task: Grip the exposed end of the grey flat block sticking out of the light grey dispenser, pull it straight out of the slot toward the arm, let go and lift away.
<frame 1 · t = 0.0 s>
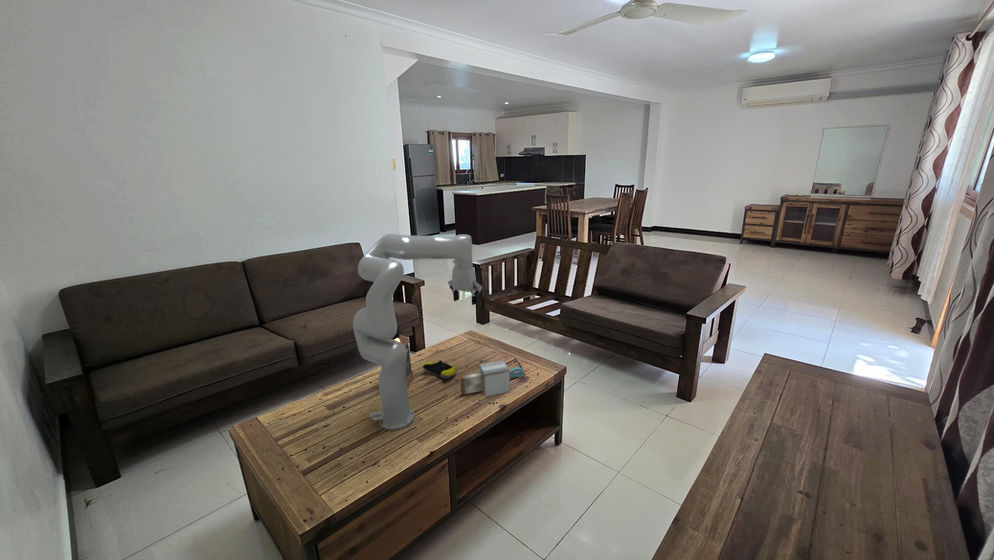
hand: (465, 302, 174), 31 cm above the table, tool pointing down, fingers open, 9 cm apart
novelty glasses: (505, 372, 178), on the table
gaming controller: (440, 375, 176), on the table
dispenser: (494, 388, 165), on the table
whiskey bottle: (399, 383, 170), on the table
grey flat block: (482, 381, 162), point 5 cm above the table, slide at 0.0 cm
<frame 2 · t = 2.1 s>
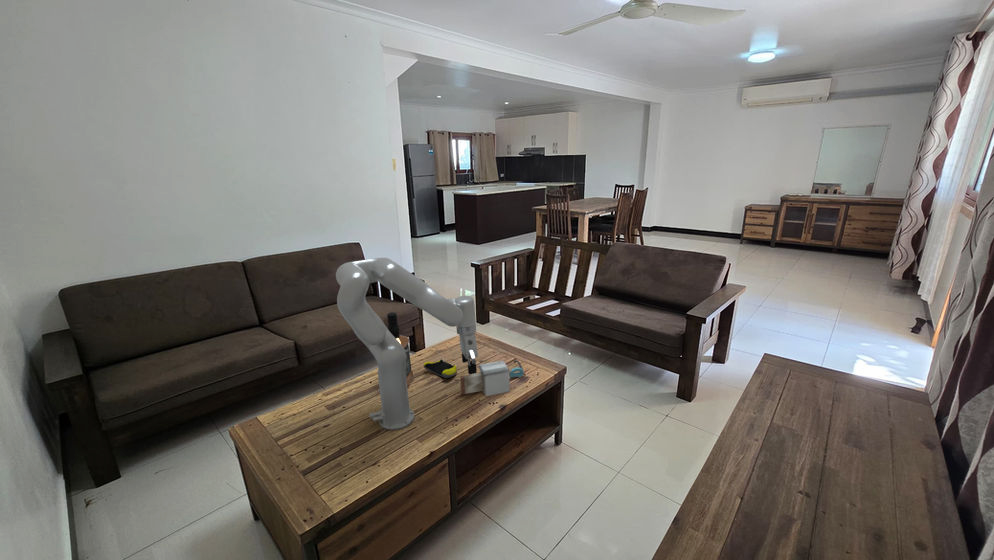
hand: (469, 367, 158), 12 cm above the table, tool pointing down, fingers open, 9 cm apart
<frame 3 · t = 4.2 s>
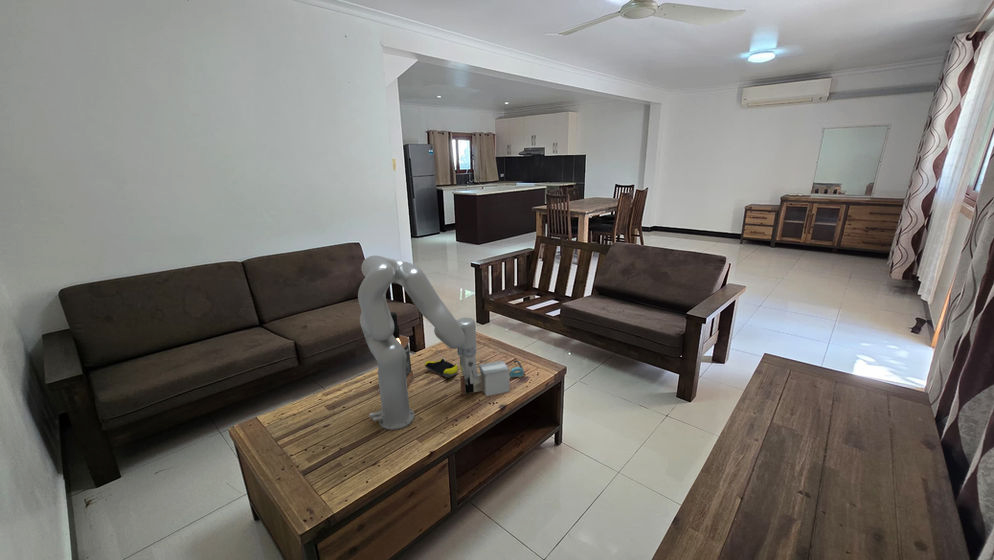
hand: (468, 390, 161), 2 cm above the table, tool pointing down, fingers closed on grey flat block, 2 cm apart
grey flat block: (482, 381, 162), point 4 cm above the table, slide at 0.0 cm, touching gripper
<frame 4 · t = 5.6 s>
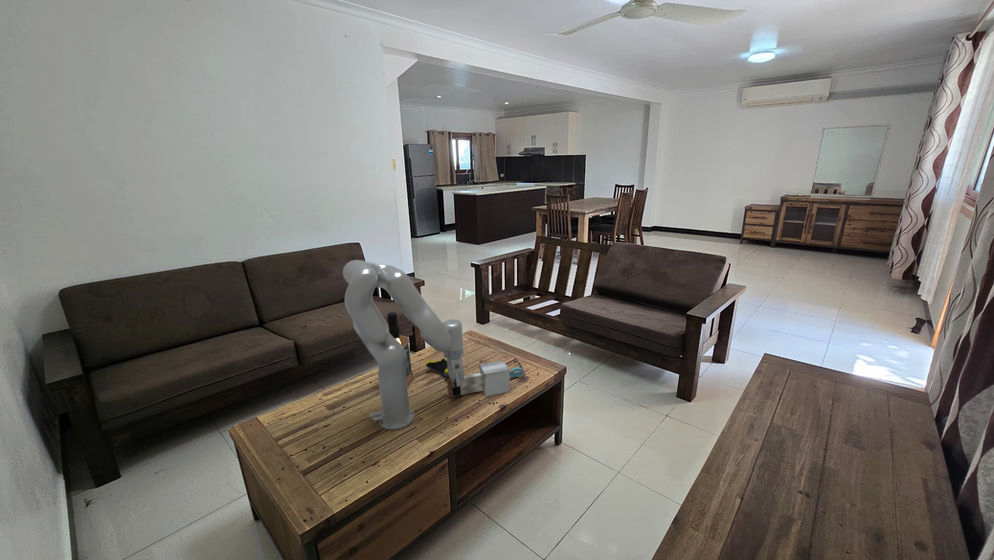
hand: (456, 392, 159), 2 cm above the table, tool pointing down, fingers closed on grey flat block, 2 cm apart
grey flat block: (469, 383, 160), point 4 cm above the table, slide at 5.3 cm, touching gripper
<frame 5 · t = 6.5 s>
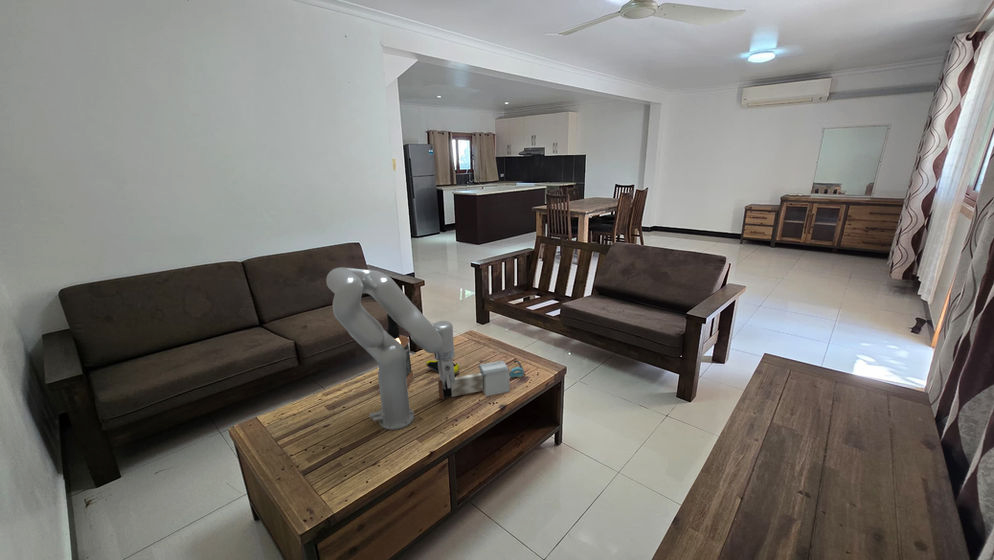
hand: (446, 394, 158), 2 cm above the table, tool pointing down, fingers closed on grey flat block, 2 cm apart
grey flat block: (460, 385, 159), point 5 cm above the table, slide at 8.9 cm, touching gripper
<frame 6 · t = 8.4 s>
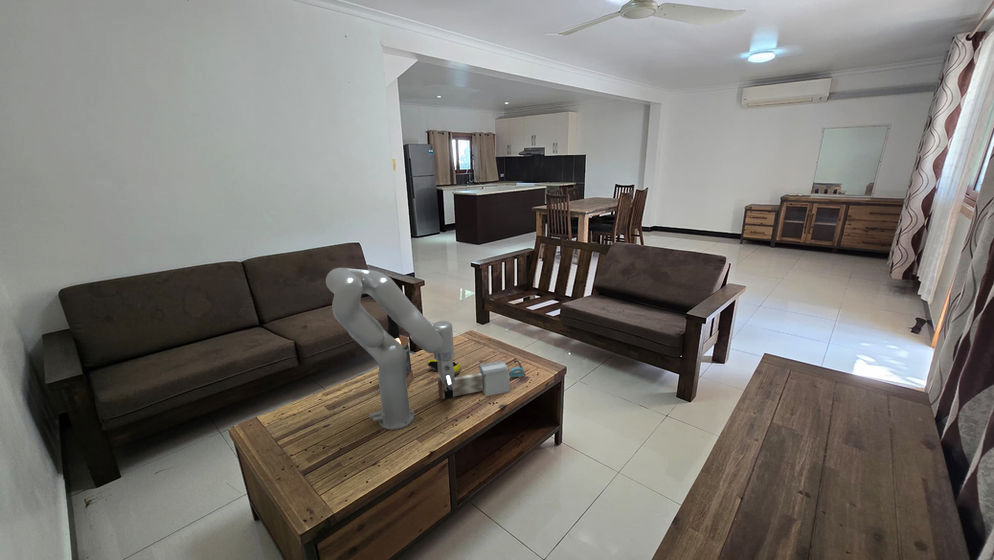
hand: (446, 392, 158), 3 cm above the table, tool pointing down, fingers open, 9 cm apart
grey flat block: (460, 385, 159), point 5 cm above the table, slide at 9.0 cm
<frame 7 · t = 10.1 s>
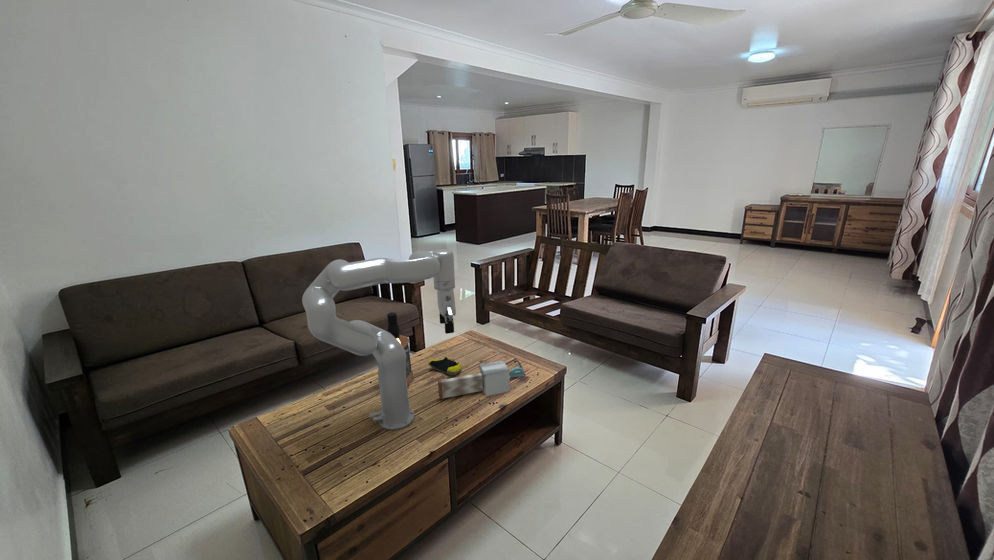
hand: (446, 327, 148), 31 cm above the table, tool pointing down, fingers open, 9 cm apart
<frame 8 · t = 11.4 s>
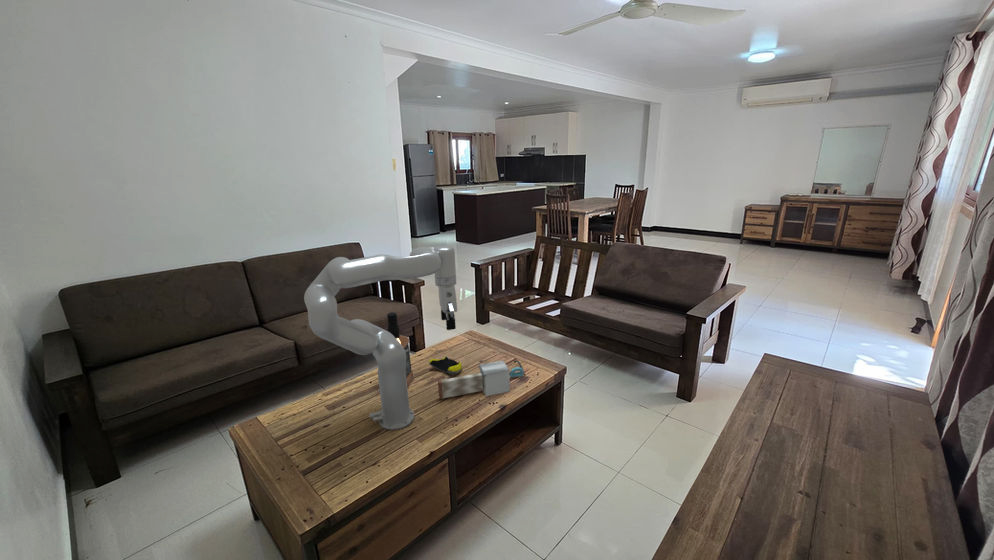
hand: (448, 324, 148), 32 cm above the table, tool pointing down, fingers open, 9 cm apart
at the end: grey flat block slide at 9.0 cm; the gripper is holding nothing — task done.
